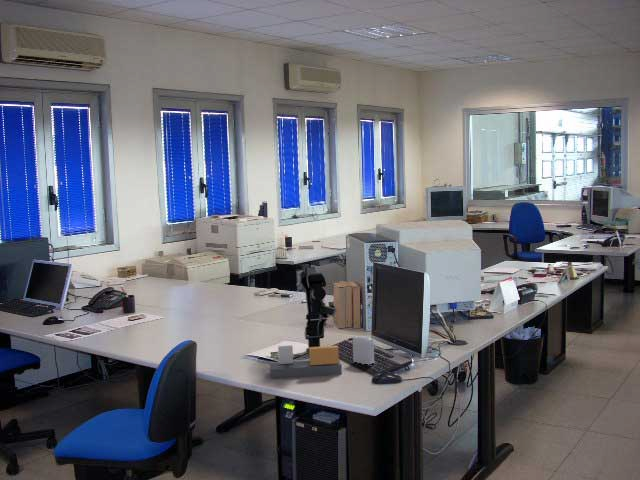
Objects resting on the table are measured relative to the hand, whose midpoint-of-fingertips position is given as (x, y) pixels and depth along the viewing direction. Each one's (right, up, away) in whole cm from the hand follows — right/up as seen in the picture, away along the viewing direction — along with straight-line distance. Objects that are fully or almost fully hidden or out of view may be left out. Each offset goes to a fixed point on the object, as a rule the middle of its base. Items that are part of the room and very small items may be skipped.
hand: (318, 334), depth 312 cm
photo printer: (+20, -12, -7) cm, 24 cm away
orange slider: (+2, -10, -20) cm, 22 cm away
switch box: (-6, -14, -18) cm, 23 cm away
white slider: (-14, -10, -17) cm, 24 cm away
